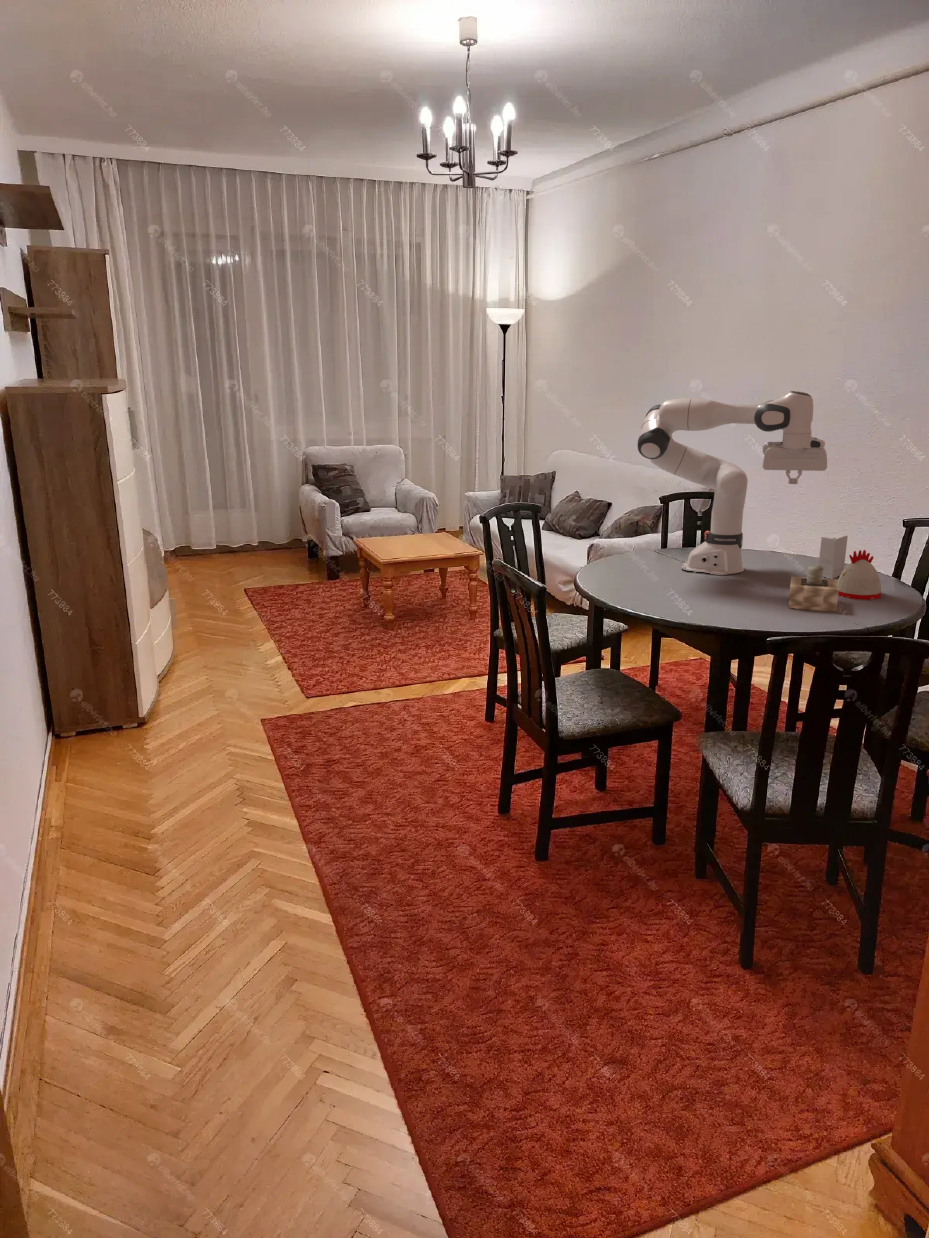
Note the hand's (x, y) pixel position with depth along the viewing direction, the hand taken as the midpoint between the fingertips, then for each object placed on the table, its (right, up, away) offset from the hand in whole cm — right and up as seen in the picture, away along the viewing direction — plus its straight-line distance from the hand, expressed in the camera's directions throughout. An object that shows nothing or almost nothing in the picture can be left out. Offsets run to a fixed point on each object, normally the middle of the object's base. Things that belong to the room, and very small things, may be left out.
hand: (793, 483), depth 291 cm
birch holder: (+1, -41, -14) cm, 43 cm away
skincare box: (+21, -30, +21) cm, 42 cm away
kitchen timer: (+20, -37, -3) cm, 43 cm away
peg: (+1, -39, -14) cm, 41 cm away
